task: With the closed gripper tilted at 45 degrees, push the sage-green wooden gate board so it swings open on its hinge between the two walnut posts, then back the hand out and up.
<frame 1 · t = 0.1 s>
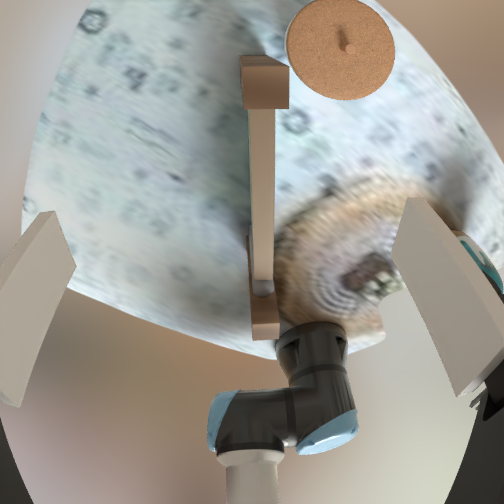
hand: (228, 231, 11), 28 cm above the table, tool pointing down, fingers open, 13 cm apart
lidded jar: (322, 45, 29), on the table
vase: (441, 244, 49), on the table
gate: (259, 188, 34), point 6 cm above the table, hinge at 0.0°
gate posts: (255, 165, 39), on the table
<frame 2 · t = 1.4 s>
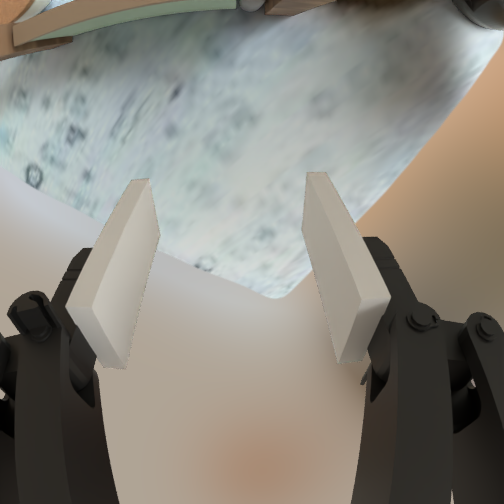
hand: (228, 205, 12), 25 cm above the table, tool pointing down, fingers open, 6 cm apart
gate: (146, 3, 20), point 6 cm above the table, hinge at 0.0°
gate posts: (160, 9, 25), on the table
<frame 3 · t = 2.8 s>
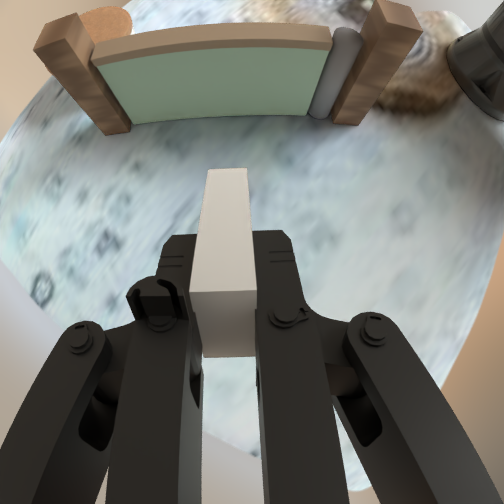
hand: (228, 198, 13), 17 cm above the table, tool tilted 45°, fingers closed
lidded jar: (107, 74, 32), on the table
gate: (228, 76, 25), point 6 cm above the table, hinge at 0.0°
gate posts: (230, 111, 31), on the table
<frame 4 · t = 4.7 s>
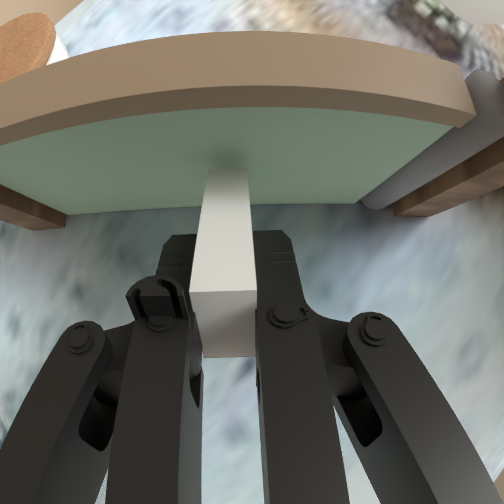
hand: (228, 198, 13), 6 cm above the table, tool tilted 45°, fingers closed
lidded jar: (39, 118, 19), on the table
gate: (218, 151, 13), point 6 cm above the table, hinge at 0.1°, touching gripper
gate posts: (224, 194, 19), on the table
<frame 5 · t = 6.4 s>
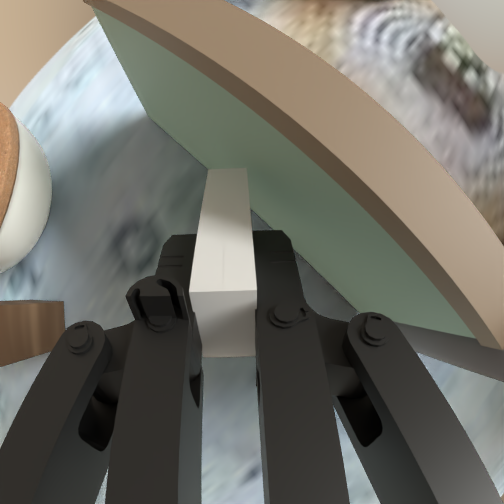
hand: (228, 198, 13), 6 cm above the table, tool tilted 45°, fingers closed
lidded jar: (22, 210, 19), on the table
gate: (289, 180, 12), point 6 cm above the table, hinge at 45.2°, touching gripper
gate posts: (228, 328, 18), on the table
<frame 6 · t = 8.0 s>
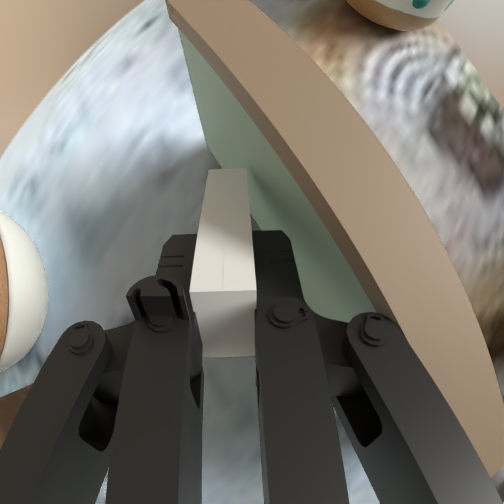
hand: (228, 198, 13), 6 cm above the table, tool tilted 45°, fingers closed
lidded jar: (20, 290, 18), on the table
vase: (378, 12, 22), on the table
gate: (342, 283, 12), point 6 cm above the table, hinge at 60.3°, touching gripper
gate posts: (234, 417, 17), on the table
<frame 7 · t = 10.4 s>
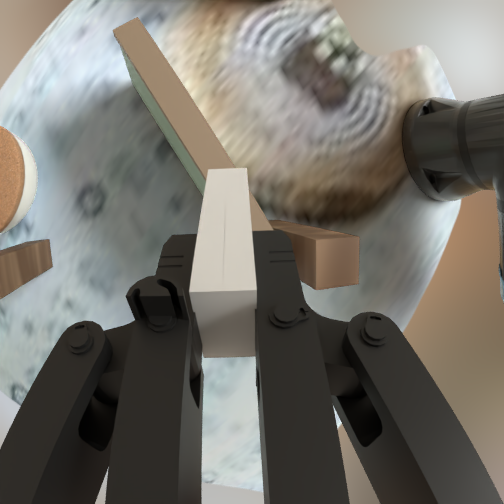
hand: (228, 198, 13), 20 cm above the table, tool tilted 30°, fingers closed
lidded jar: (13, 184, 26), on the table
gate: (192, 150, 25), point 6 cm above the table, hinge at 60.7°
gate posts: (146, 244, 31), on the table
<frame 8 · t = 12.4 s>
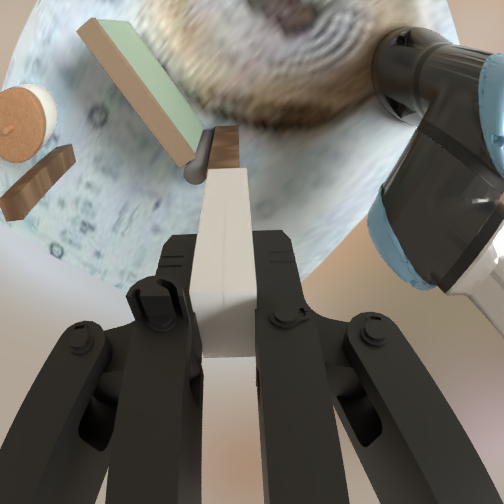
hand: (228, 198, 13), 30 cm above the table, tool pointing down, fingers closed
lidded jar: (41, 110, 35), on the table
gate: (155, 91, 30), point 6 cm above the table, hinge at 60.7°
gate posts: (139, 143, 40), on the table
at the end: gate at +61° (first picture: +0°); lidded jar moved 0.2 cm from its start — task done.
